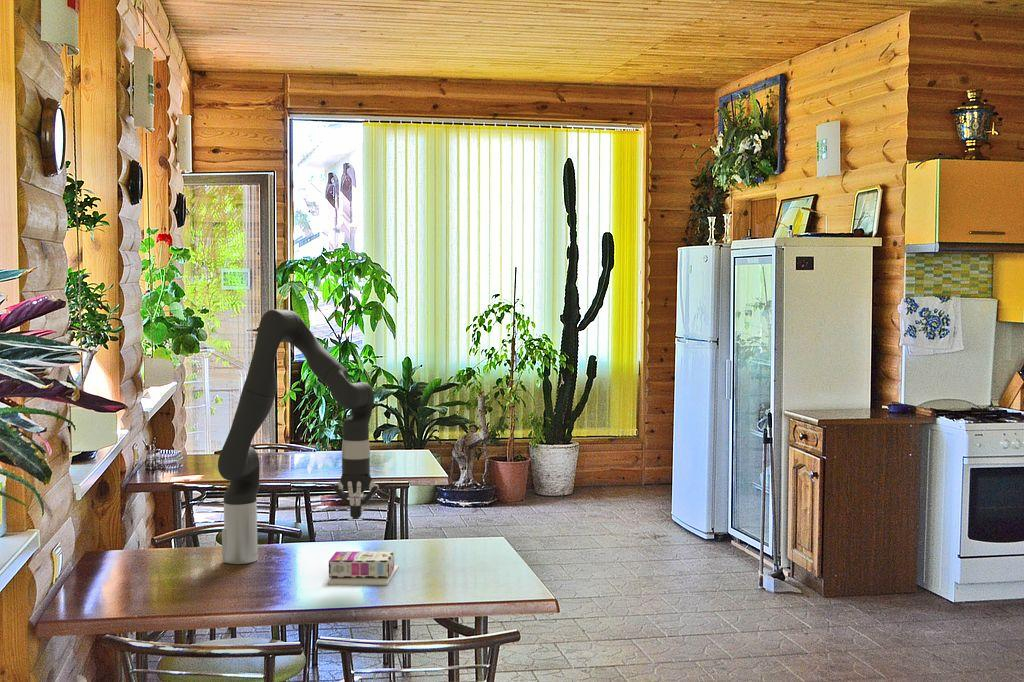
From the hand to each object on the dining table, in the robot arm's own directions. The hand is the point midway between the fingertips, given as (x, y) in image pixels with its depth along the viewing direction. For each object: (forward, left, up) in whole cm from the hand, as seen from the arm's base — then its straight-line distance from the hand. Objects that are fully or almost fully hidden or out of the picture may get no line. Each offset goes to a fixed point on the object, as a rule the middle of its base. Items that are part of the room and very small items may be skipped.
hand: (356, 518), depth 295 cm
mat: (+2, 0, -16) cm, 16 cm away
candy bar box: (-7, 0, -13) cm, 15 cm away
